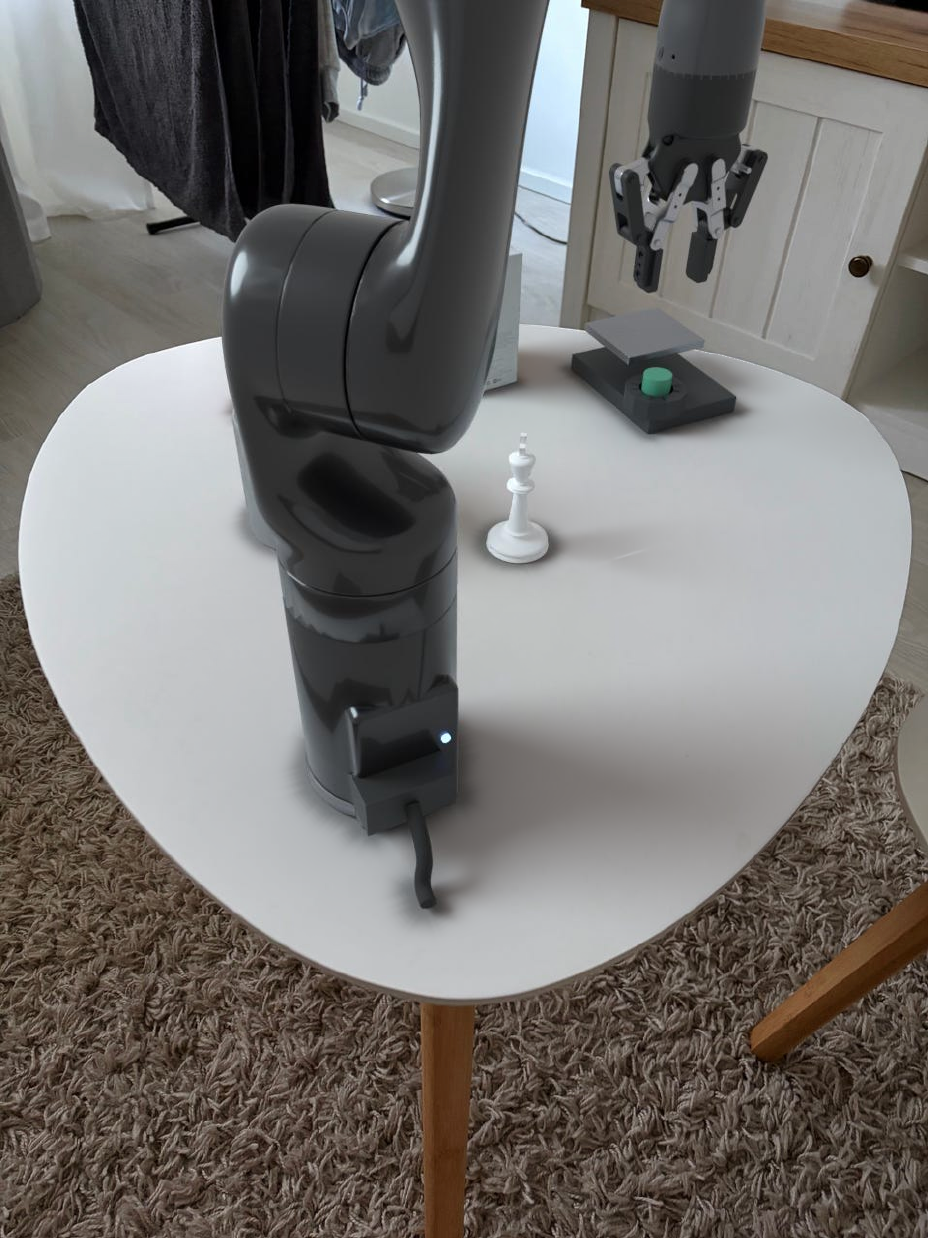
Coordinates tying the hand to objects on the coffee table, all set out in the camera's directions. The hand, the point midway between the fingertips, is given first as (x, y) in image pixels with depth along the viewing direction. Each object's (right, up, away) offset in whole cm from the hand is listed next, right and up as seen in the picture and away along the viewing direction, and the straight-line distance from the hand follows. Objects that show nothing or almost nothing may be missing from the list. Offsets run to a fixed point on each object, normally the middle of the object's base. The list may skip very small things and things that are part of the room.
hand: (671, 283), depth 84 cm
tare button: (0, -8, +7) cm, 10 cm away
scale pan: (0, -1, +12) cm, 12 cm away
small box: (-17, -4, +16) cm, 23 cm away
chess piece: (-13, -23, -5) cm, 27 cm away
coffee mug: (-30, -19, -2) cm, 36 cm away
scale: (+1, -6, +13) cm, 15 cm away
